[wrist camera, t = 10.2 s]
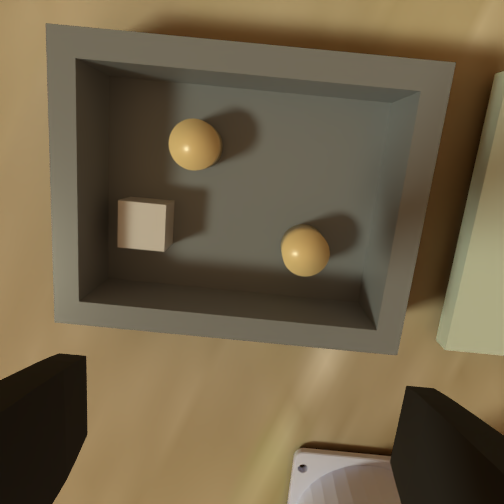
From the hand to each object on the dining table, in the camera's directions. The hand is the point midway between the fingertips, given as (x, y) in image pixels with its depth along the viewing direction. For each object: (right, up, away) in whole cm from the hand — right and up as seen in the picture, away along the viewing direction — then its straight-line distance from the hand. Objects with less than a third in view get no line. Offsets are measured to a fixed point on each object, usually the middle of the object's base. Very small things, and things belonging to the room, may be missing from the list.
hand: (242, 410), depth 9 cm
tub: (0, +6, +9) cm, 11 cm away
